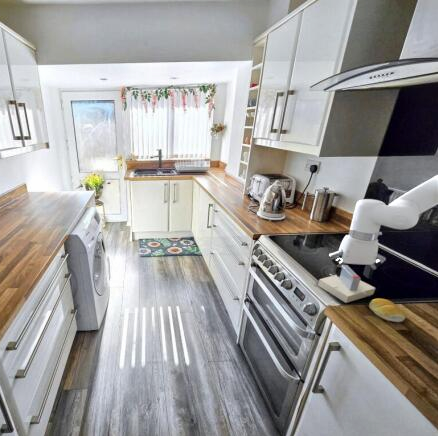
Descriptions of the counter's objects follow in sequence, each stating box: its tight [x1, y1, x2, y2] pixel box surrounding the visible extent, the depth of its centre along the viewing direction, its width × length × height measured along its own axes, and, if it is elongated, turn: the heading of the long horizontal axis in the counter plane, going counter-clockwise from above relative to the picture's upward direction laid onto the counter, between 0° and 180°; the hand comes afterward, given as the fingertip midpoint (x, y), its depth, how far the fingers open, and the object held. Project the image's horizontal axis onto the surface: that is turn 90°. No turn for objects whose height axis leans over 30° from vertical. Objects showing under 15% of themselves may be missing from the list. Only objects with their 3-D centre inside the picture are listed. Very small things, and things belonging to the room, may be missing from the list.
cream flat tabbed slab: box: [317, 273, 376, 304], centre depth 93 cm, size 14×13×3 cm
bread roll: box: [368, 298, 407, 323], centre depth 81 cm, size 8×9×4 cm
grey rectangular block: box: [339, 264, 362, 291], centre depth 91 cm, size 9×2×6 cm, turn 167°
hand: (351, 275), depth 90 cm, fingers open, 9 cm apart
